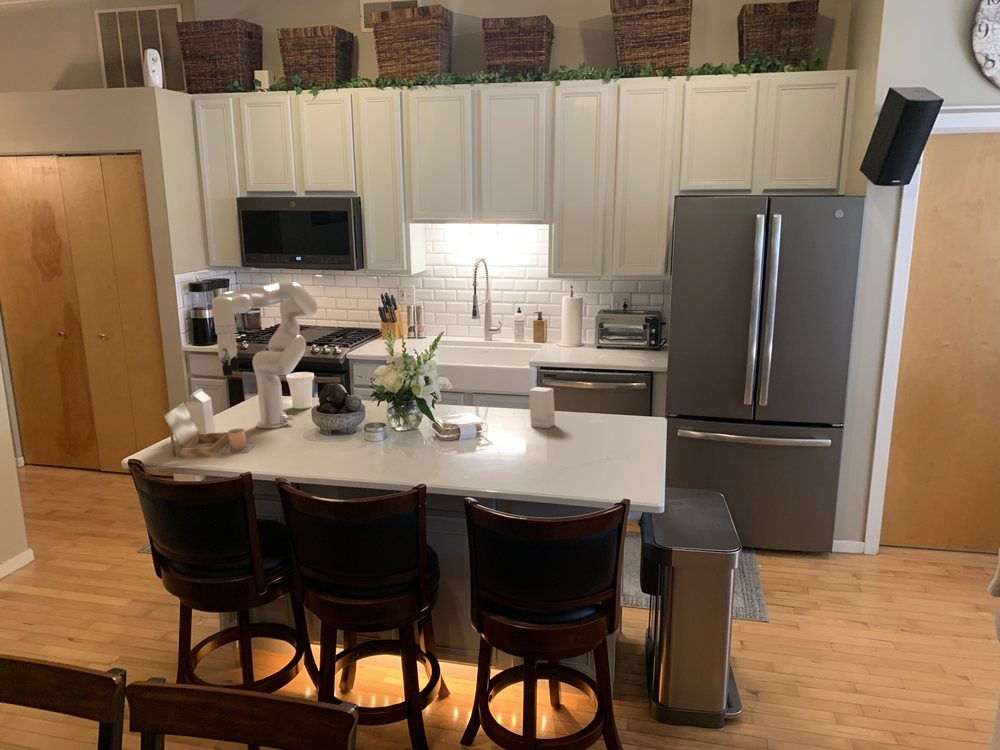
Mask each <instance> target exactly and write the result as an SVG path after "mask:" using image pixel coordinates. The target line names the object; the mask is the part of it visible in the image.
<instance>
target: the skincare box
mask: <svg viewBox="0 0 1000 750" xmlns="http://www.w3.org/2000/svg"><path fill="white" fill-rule="evenodd" d="M528 391H529V393H528V394H529V412H530V413H529V414H530V427H533V428H540V429H550V428H551V427H554V426H555V425H556V419H555V416H556V414H555V412H556V411H555V394H554V392H555V391H554V388H552V387H544V386H543V387H540V386H536V387H534V388H531V389H529V390H528Z"/></svg>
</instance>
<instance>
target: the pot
mask: <svg viewBox="0 0 1000 750" xmlns="http://www.w3.org/2000/svg"><path fill="white" fill-rule="evenodd" d="M227 432H228V437H229V441H228V446H229V445H230V450H231V451H241V450H244V449H246V448H247V446H246V445H247V439H246V438H247V437H246V430H245V428H234V429H233V428H232V429H229V430H227Z"/></svg>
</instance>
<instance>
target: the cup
mask: <svg viewBox="0 0 1000 750" xmlns="http://www.w3.org/2000/svg"><path fill="white" fill-rule="evenodd" d="M285 378H286V379H285V380H286V381H287V383H288V387H289V391H290V398H291V403H292V407H293V409H294V410H297V411H298V410H308V409H311V408H313V403H312V402H313V380H314V378H315V373H314V372H310V371H309V372H308V371H301V372H300V371H299V372H293V373H292V372H291V373H290V374H288V375H285Z"/></svg>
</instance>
